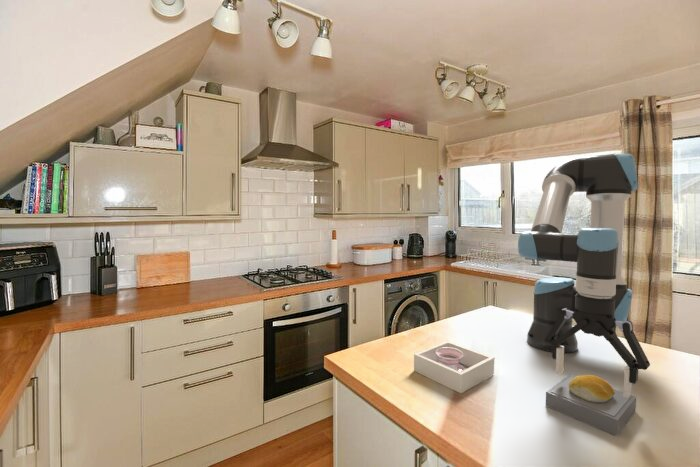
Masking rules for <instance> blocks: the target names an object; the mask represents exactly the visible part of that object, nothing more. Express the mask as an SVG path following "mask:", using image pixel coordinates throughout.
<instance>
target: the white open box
mask: <svg viewBox="0 0 700 467" xmlns="http://www.w3.org/2000/svg"><path fill="white" fill-rule="evenodd" d="M442 347H452V348H456V349H459V350H461V351H462V352H463V358H462V359H461V360H460V362H459V364H462V365H464V366H467V367H468V368H466V369H465V370H463V371H461V372H459V371H456V370H454V369H452V368H449V367H447V366H445V365H442V364H440V363H438V362H440V361H439V360H438V357H437V356H436V353H435V351H436V350H437V349H439V348H442ZM413 371H414V372H416V373H418V374H420V375H422V376H424V377H426V378H427V379H430V380H432V381H434V382H436V383H439V384H440V385H443V386H444V387H447V388H449V389H451V390H453V391H455V392H457V393H459V394H463V393H464V392H466V391H468V390H470V389H472V388H473V387H475V386H477V385H478V384H480V383H482V382H484V381H485V380H487V379H489V378H491V377H493V376H494V375H495V357H494V356H490V355H488V354H485V353H482V352H479V351H476V350H474V349H471V348H468V347H465V346H463V345H460V344H456V343H454V342H451V341H449V340H446V341H444V342H441V343H439V344H437V345H434V346H431V347H429V348H426V349H424V350H421V351H419V352H416V353H414V354H413ZM493 374H494V375H493ZM490 376H491V377H490Z"/></svg>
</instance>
